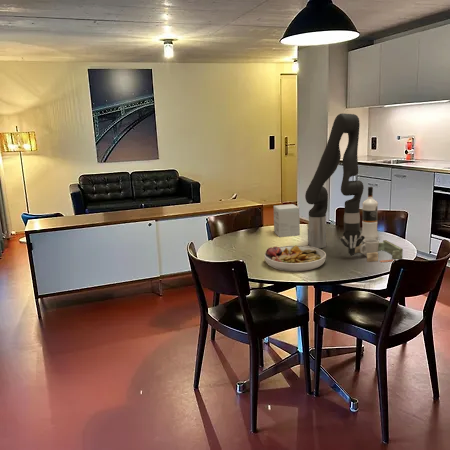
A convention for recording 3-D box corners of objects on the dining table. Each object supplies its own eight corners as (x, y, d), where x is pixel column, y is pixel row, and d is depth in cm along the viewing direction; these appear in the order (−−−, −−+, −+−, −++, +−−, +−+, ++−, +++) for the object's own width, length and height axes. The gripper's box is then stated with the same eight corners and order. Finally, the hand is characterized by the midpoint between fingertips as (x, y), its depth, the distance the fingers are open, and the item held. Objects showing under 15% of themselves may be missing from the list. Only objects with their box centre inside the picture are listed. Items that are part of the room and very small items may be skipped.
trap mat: (381, 262, 210) (381, 262, 210) (379, 261, 212) (379, 260, 212) (395, 261, 210) (395, 260, 210) (392, 259, 213) (392, 259, 213)
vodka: (366, 235, 258) (367, 185, 252) (380, 237, 252) (382, 186, 245) (358, 239, 252) (358, 187, 245) (373, 241, 246) (374, 188, 239)
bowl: (326, 255, 227) (326, 240, 225) (325, 274, 199) (325, 258, 197) (269, 254, 234) (268, 239, 232) (260, 272, 206) (259, 256, 204)
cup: (366, 260, 215) (366, 244, 213) (354, 256, 222) (354, 241, 220) (382, 256, 219) (382, 240, 218) (370, 252, 226) (370, 237, 224)
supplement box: (294, 230, 280) (293, 203, 276) (300, 235, 267) (299, 207, 263) (273, 232, 278) (272, 205, 274) (279, 237, 266) (278, 209, 262)
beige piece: (368, 261, 212) (368, 252, 211) (353, 252, 228) (353, 242, 227) (402, 258, 214) (402, 248, 212) (385, 249, 230) (385, 240, 229)
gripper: (342, 223, 211) (342, 258, 215) (368, 221, 212) (367, 255, 216) (336, 220, 218) (336, 254, 222) (361, 218, 220) (361, 251, 223)
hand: (351, 254), depth 219 cm, fingers closed
